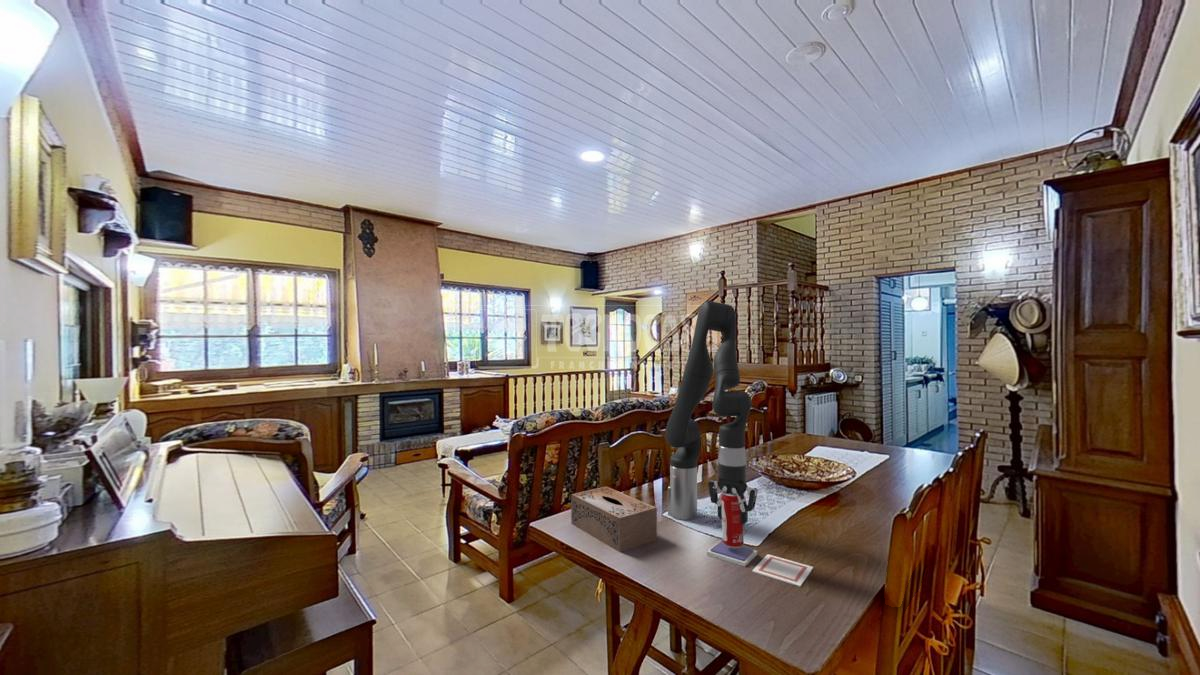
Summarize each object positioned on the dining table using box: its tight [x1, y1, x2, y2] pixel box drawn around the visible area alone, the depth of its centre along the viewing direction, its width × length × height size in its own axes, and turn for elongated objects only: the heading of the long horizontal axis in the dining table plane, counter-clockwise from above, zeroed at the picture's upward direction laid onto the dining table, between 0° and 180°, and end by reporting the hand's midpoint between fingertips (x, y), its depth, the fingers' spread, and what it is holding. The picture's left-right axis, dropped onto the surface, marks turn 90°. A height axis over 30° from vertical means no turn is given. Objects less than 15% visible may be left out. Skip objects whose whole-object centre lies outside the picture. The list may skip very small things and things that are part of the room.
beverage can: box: [721, 491, 745, 548], centre depth 131 cm, size 6×6×15 cm
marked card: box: [751, 553, 814, 588], centre depth 123 cm, size 12×12×1 cm
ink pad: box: [706, 539, 758, 567], centre depth 131 cm, size 11×9×2 cm
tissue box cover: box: [570, 486, 658, 553], centre depth 148 cm, size 26×14×10 cm, turn 36°
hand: (732, 521), depth 131 cm, fingers closed on beverage can, 5 cm apart
